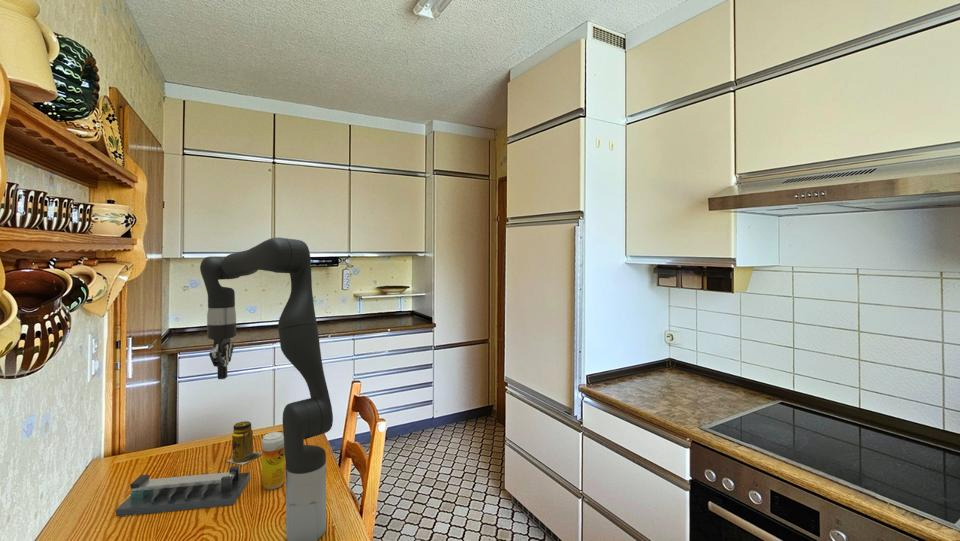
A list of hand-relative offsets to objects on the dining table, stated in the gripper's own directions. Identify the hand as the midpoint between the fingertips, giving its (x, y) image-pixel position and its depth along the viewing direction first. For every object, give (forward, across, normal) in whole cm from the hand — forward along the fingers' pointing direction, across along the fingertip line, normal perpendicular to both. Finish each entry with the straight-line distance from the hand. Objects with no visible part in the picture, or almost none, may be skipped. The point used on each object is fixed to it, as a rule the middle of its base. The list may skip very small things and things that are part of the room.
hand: (222, 378), depth 129 cm
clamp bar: (+27, -9, +7) cm, 30 cm away
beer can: (+31, -7, -16) cm, 36 cm away
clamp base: (+31, -9, +6) cm, 33 cm away
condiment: (+31, +13, -2) cm, 34 cm away
